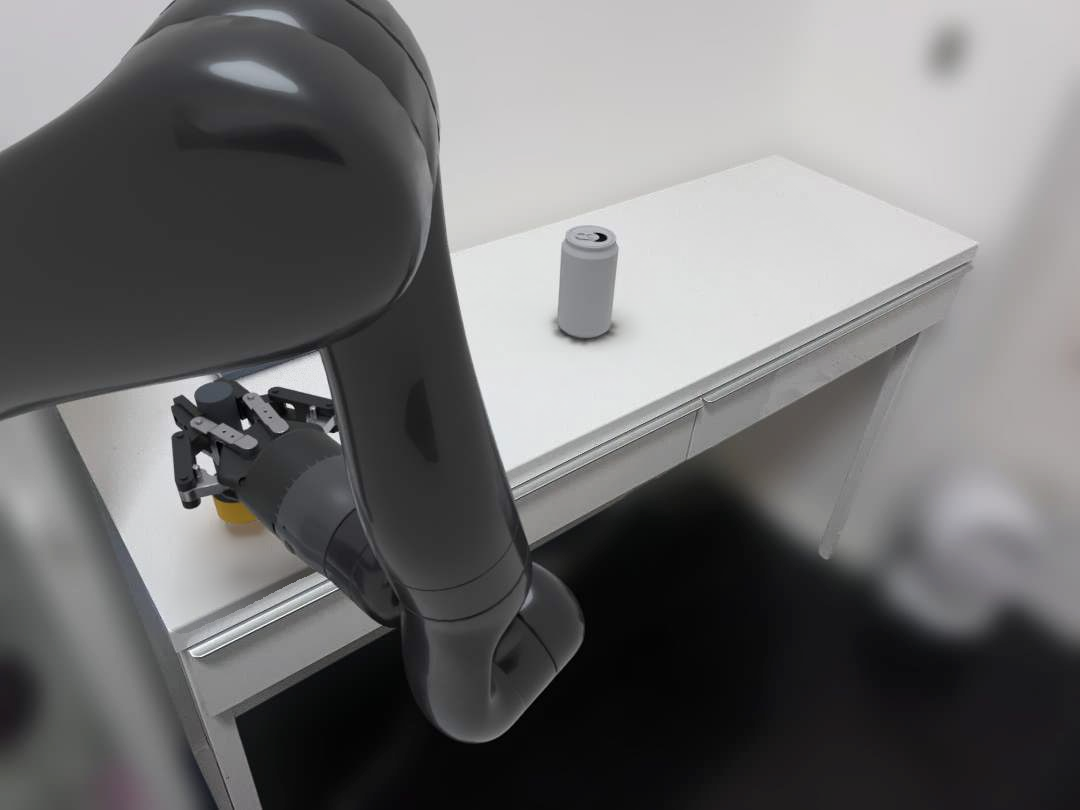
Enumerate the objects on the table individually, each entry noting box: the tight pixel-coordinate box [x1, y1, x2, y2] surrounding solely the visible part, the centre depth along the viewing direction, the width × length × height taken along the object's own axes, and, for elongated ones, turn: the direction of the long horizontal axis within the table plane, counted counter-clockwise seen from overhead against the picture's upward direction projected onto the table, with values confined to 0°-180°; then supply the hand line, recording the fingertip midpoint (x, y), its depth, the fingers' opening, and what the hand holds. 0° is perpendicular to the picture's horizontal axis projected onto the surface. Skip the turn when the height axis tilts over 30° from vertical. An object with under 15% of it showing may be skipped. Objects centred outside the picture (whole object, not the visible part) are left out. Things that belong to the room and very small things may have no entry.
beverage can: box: [556, 224, 620, 339], centre depth 93 cm, size 6×6×12 cm
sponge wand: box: [193, 381, 258, 525], centre depth 65 cm, size 4×4×12 cm
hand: (199, 397), depth 64 cm, fingers closed on sponge wand, 2 cm apart
